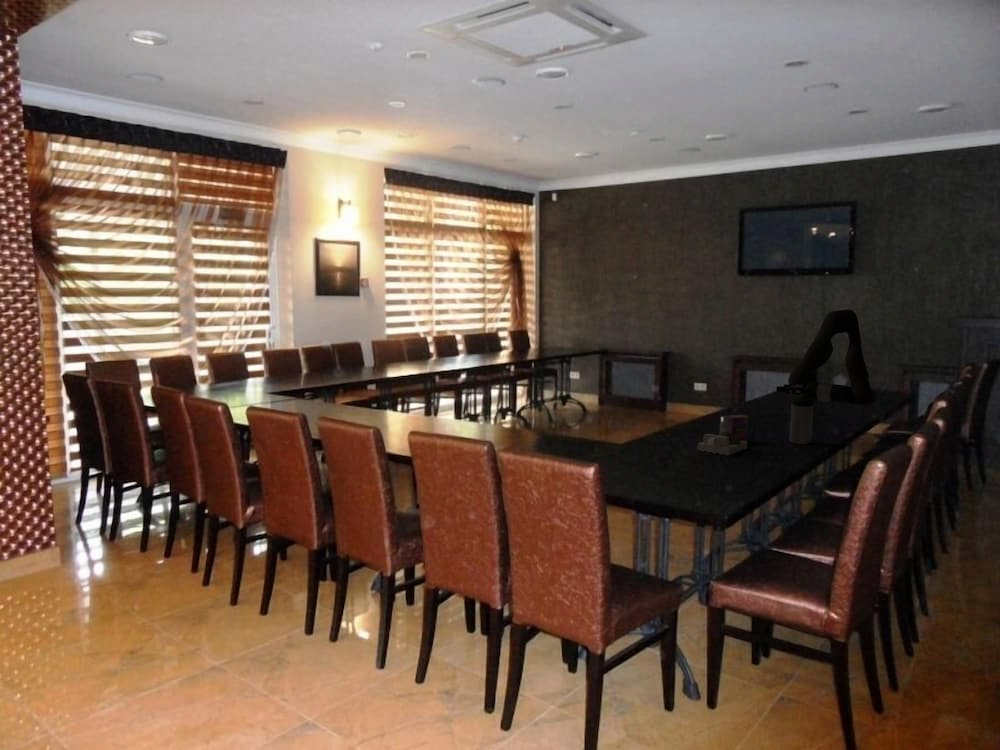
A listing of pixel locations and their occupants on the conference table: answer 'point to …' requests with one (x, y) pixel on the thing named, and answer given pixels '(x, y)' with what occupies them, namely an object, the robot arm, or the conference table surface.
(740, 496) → the conference table surface
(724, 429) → the spacer
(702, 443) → the scale
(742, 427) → the box
